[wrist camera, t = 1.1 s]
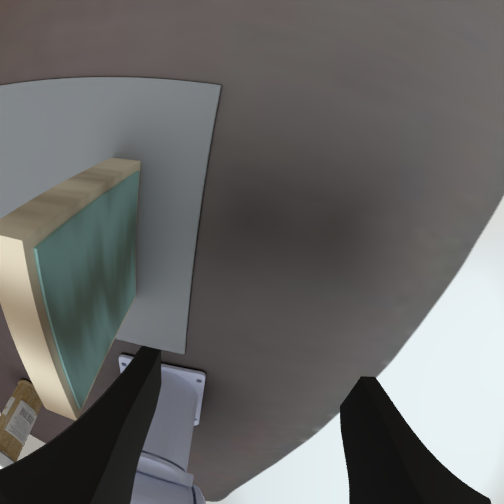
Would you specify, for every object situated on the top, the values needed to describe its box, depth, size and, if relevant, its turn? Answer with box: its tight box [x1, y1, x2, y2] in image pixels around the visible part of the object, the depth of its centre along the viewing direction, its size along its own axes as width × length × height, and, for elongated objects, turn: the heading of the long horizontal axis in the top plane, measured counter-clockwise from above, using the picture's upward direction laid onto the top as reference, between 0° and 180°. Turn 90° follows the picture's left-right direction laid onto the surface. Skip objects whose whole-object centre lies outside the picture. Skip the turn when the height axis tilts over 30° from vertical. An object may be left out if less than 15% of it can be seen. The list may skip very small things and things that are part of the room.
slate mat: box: [0, 77, 222, 354], centre depth 19 cm, size 20×22×1 cm
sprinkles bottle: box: [0, 380, 43, 469], centre depth 24 cm, size 5×5×13 cm
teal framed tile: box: [0, 158, 141, 420], centre depth 14 cm, size 10×2×11 cm, turn 169°
